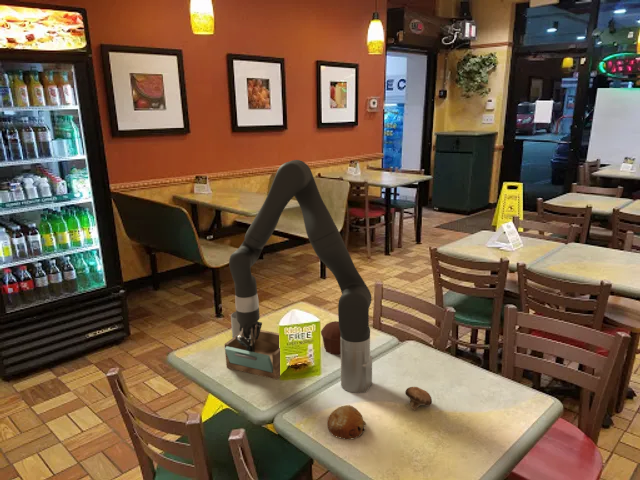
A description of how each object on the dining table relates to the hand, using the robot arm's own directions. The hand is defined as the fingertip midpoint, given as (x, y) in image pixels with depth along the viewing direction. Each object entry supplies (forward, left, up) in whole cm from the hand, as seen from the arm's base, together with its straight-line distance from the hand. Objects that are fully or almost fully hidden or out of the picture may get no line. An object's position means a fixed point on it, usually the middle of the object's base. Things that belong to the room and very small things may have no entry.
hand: (251, 354), depth 159 cm
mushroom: (-56, -3, -7) cm, 57 cm away
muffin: (-20, -26, -7) cm, 34 cm away
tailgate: (0, +1, -5) cm, 5 cm away
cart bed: (0, -6, -7) cm, 9 cm away
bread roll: (-40, +15, -7) cm, 44 cm away
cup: (+17, -20, -7) cm, 27 cm away
